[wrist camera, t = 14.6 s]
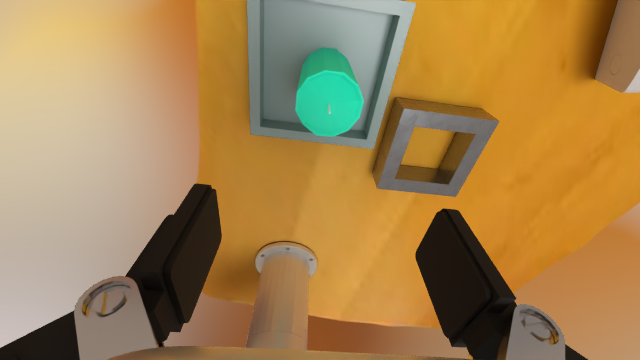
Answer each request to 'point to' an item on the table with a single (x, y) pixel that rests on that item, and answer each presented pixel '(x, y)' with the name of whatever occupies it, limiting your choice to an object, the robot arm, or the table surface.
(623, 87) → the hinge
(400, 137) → the holder
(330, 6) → the tray
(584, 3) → the table surface
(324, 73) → the candle
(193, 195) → the robot arm
